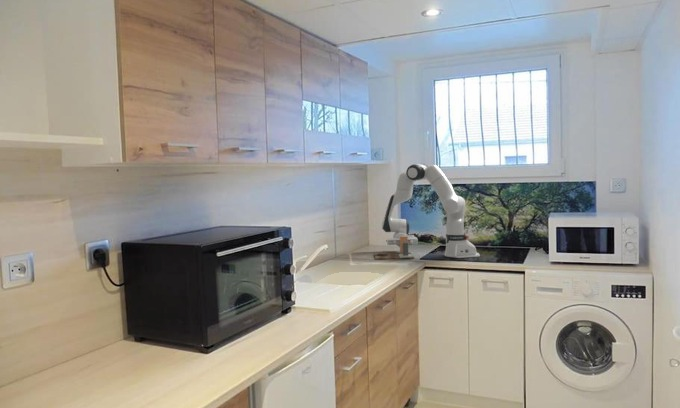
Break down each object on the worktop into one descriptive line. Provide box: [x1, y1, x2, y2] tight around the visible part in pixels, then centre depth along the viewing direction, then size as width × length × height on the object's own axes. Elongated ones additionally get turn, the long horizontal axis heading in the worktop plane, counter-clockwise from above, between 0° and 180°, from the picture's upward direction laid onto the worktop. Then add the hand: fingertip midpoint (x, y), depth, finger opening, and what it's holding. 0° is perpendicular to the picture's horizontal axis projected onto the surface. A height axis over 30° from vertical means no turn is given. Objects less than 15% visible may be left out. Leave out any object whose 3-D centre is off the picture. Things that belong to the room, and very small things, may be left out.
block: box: [399, 236, 408, 254], centre depth 329 cm, size 4×4×13 cm
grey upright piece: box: [399, 242, 414, 258], centre depth 320 cm, size 8×8×9 cm
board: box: [373, 251, 415, 261], centre depth 327 cm, size 24×18×2 cm
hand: (403, 242), depth 328 cm, fingers open, 8 cm apart
